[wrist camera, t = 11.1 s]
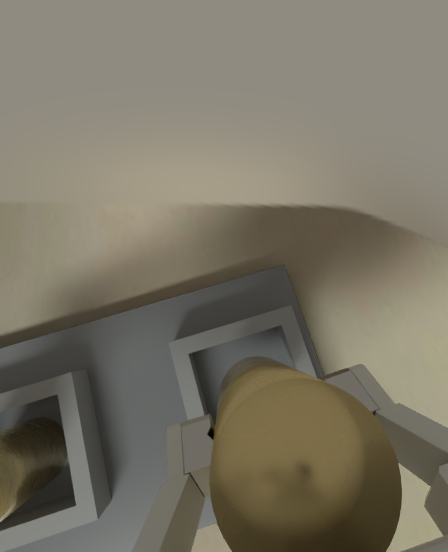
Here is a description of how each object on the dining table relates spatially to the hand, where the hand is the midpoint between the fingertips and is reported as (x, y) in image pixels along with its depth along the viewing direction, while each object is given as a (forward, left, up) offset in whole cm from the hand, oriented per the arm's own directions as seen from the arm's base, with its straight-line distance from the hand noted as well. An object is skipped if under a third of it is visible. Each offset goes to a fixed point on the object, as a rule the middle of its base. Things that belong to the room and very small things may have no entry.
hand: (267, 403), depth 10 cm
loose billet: (0, -1, -5) cm, 5 cm away
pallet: (-7, -1, -11) cm, 13 cm away
